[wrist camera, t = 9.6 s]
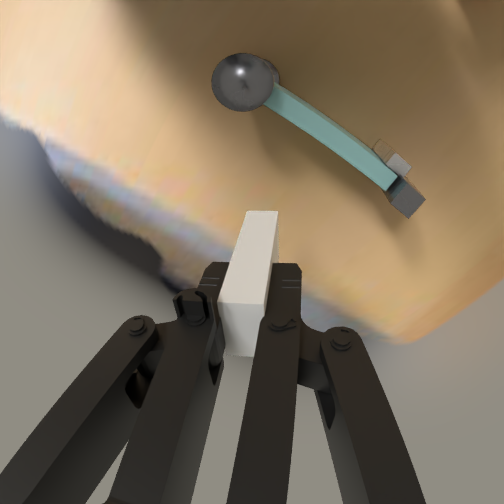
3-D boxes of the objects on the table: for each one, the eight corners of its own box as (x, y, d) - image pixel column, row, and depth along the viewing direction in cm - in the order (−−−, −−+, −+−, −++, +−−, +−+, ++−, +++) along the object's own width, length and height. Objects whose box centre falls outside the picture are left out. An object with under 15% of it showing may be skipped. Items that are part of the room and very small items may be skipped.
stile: (359, 164, 27) (376, 192, 21) (380, 138, 25) (403, 159, 20) (387, 185, 28) (408, 218, 22) (406, 161, 26) (434, 188, 20)
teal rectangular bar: (230, 85, 24) (215, 89, 20) (248, 56, 23) (237, 53, 19) (367, 177, 27) (379, 198, 23) (387, 152, 25) (404, 169, 21)
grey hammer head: (223, 87, 25) (200, 92, 19) (248, 49, 23) (231, 42, 17) (263, 110, 26) (252, 122, 20) (288, 73, 24) (285, 73, 18)
